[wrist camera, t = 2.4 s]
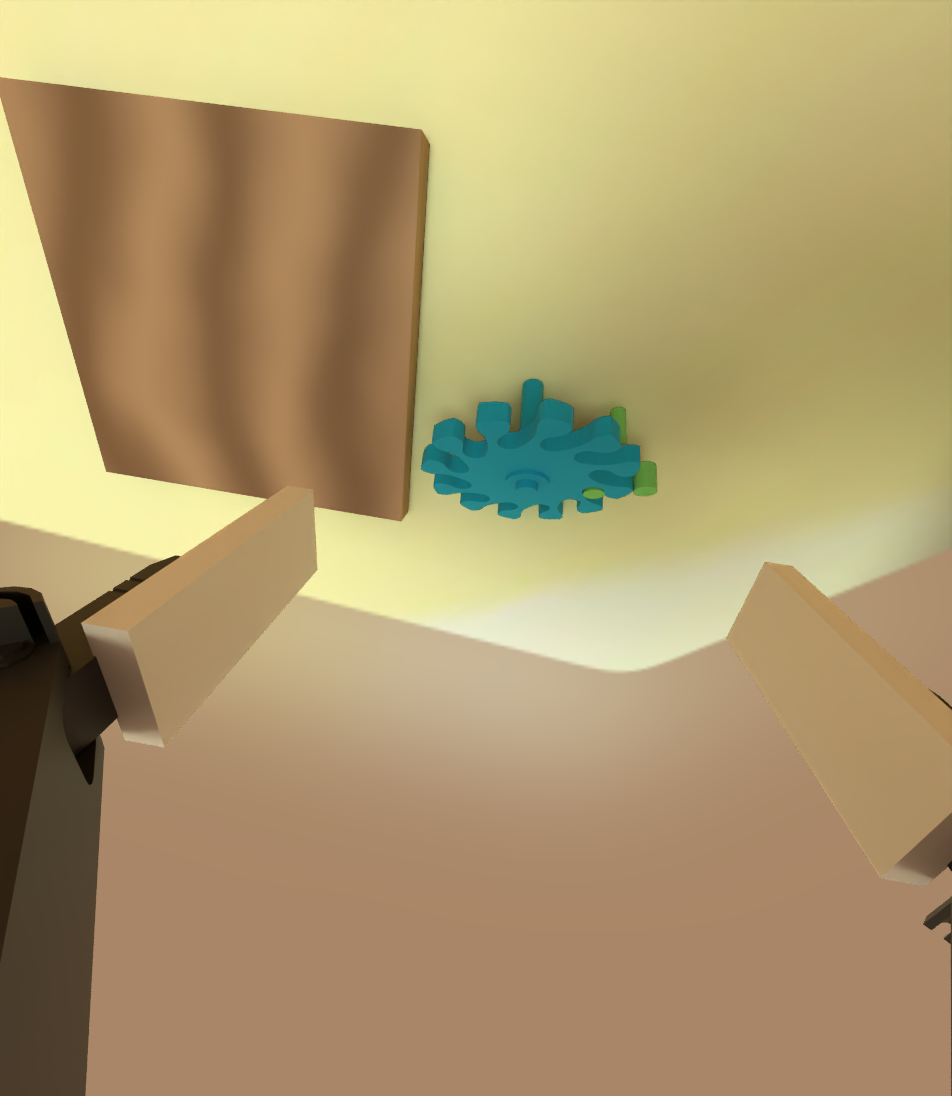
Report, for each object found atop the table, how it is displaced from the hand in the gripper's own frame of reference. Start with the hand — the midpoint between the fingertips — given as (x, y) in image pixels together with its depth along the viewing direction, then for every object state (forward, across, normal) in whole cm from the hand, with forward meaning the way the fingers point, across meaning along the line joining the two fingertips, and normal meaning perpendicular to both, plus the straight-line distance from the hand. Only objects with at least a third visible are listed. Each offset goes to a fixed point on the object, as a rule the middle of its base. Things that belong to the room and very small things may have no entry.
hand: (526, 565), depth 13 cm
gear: (+13, -1, 0) cm, 13 cm away
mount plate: (+13, +15, -4) cm, 20 cm away
